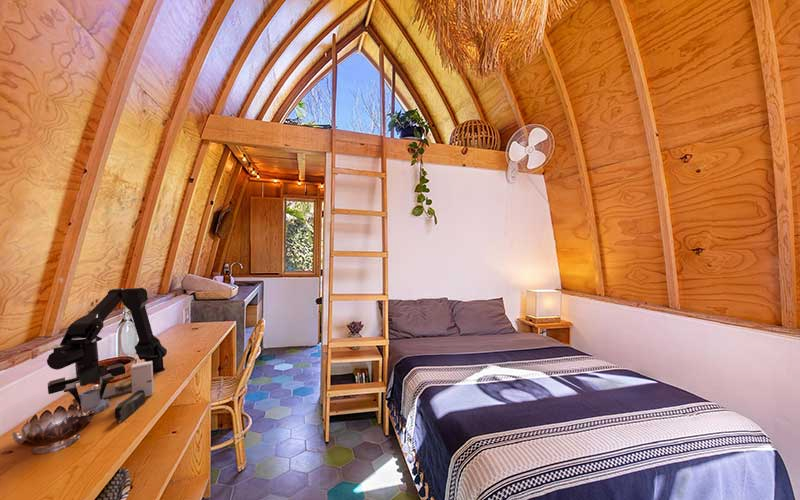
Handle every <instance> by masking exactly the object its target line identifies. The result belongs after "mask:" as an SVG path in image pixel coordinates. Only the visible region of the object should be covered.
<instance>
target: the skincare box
mask: <svg viewBox="0 0 800 500" xmlns="http://www.w3.org/2000/svg"><path fill="white" fill-rule="evenodd" d="M130 376H131V377H130V379H131V381H132V392H131V395H133V394H134V393H136V392H137V391H139V390H144V392H145V398H146V397H151V396H153V394H154V391H155V388H154V385H155V384H154V373H153V365H152V361H147V362H144V361H142V362H138V363H132V365H131V367H130Z"/></svg>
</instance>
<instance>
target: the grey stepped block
mask: <svg viewBox="0 0 800 500" xmlns="http://www.w3.org/2000/svg"><path fill="white" fill-rule="evenodd" d="M79 394H80V401H81V406H82V407H83V412H84V413H87V412H88V411H90V410H93V412H94V414H99V413H100V412H101V411H104V410H107V407H110V406H111V405H110V399H106V400H104V399H101V400H100V388H99V389H98V388H96V389H91V388H90V389H88V390H85V391H82V392H81V393H79Z"/></svg>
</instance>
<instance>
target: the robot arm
mask: <svg viewBox="0 0 800 500" xmlns="http://www.w3.org/2000/svg"><path fill="white" fill-rule="evenodd" d="M148 300H149V297H148V292H147V289H146V288H144V287H134V288H133V287H131V288H123V287H122V288H112V289H110V290H108V291H107V294H106V295H105V296H104V297H103V298H102V299H101V300H100V301H99V303H97V304H96V306H94V307H93V309H92V310H90V312H89V313H87V314H86V315H84V316H81V317H79V318H77V319H76V320H75V321H73V322H72V323H70V324H69V326H68V327H67V330H66V332H65V334H64V335H63V338H62V340H61V342H60V344H59V346H57V347H53V348H52V349H53V350H52V351H53V352H51V353H50V354H49V355H48V356H47V359H46V363H47V365H48V367H49V368H50V369H52V370H56V371H57V370H61V369H64V368H66V367H69V366H71V365H73V364H74V366H75V377H73V378H69V379H66V377H60V378H57V379H54V380H50V381H49V382H47V393H48V395H52V394H56V393H58V392H63V393H70V394H71V395H72V396H73V398H74V400H75V401H77V402H76V404H77V403H78V404H79V405H81V401H80V397H79V394H80V393H79V390H78V387H77V385H76V384H79V387H86V386H87V385H90V384H96V383H98V382H99V389H100V399H102V397H103V394H104V391H105V388H106V387H107V385H108V383H109V382H110V381H111V380H114V377H118V376H122V375H124V374H126V373H127V372H126V367H125V365H124V364H123V363H116V364H112V365H108V366H107V364H103V365H100V361H99V360H100V359H99V349H98V342H100V341H103V340H102V339H103V337H101V336H98V335H99V334H100V333H101V331H102V329H103V327H104V326H105V325H104V321H105V320H106V318H108V316H109V315H110V314H112V312H113V311H114V310H115V308H116V307H117V306H118V305H119V304H120V303H122V306H124V307H125V308H127V309H128V310H129V312H130V314H131V317H132V321H133V325H134V327H135V331H136V334H137V337H138V341H137V344H136V345H135V346H134V350H135V355H137V357H138V359H139V361H142V360H143V362H147V361H152V365H153V374H155V373H158V372H161V371H165V370H166V369H165V367H164V357H166V355H167V351H168V350H167V349H166V347H164V346H163V344H162V343H161V340H160V339H159V338H158V337H156V336H155V335H154V334H153V331H152V329H153V328H152V327H151V323H150V319H149V315H148V313H147V308H146V305H147V302H148Z"/></svg>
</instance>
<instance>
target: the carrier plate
mask: <svg viewBox="0 0 800 500" xmlns="http://www.w3.org/2000/svg"><path fill="white" fill-rule="evenodd" d="M96 388H98V389H100V385H99V384H96V383H95V384H93V385H91V386H90V389H96ZM128 393H132V381H131V378H123V379H120V380H118V381H116V382H114V384H110V385H108V386H107V385H106V388H105V391H104V394H103V397H102V399H104V400H107V399H108V400H110V399H113V398H116V397H118V396H123V395H125V394H128ZM78 394H79V397H80V394H81V393H78ZM100 400H101V399H100ZM75 401H76V400H75ZM75 403H76V405H77V406H80V405H79V404H78V403H77V401H76V402H75ZM77 406H76V407H77Z"/></svg>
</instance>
